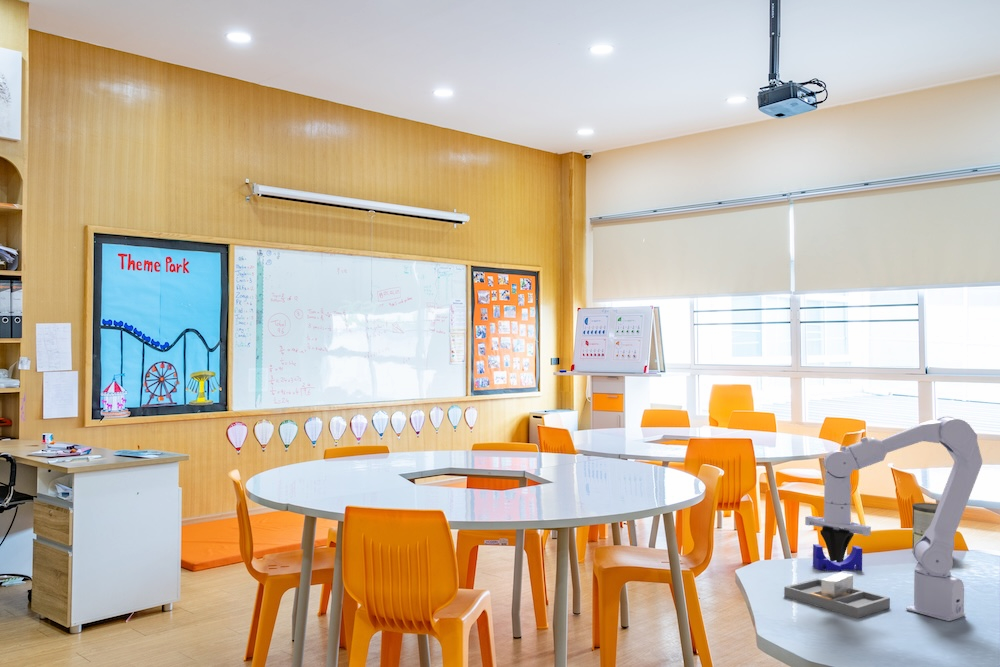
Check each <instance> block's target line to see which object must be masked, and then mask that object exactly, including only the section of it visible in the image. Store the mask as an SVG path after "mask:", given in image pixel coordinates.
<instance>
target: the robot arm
mask: <svg viewBox="0 0 1000 667" xmlns="http://www.w3.org/2000/svg"><path fill="white" fill-rule="evenodd" d="M921 442H925V443H926V442H927V443H933V444H941V446H943V447H945V449H946V450H947V452H948V453H949V455H950V457H951V458H952V460H953V461H954V462H953V466H952V467H951V471H950V473H949V475H948V479H947V481H946V483H945V485H944V489H943V492H942V493H941V496H940V499H939V502H938V507H937V509H936V512H935V514H934V517H933V520H932V522H931V525H930V526H929V528H928V529H927V530H926V531H925V532H924V535H923V537H922V538H921V539H920V540H919V541H918V542H917V543H916V544H915V545H914V548H913V547H912V550H913V552H912V553H913V557H914V558H915V559H916V561H917V563H916V565H915V566H914V567H913V568H914V569H913V570H914V573H913V574H914V582H913V583H914V584H913V585H914V586H913V589H914V591H913V592H914V593H913V596H914V597H913V605H909V606H907V607H905V609H906V610H907V611H910V612H913V613H917V614H920V615H925V616H928V617H932V618H935V619H938V620H943V621H947V622H950V621H954V620H957V619H959V618H962V617H964V616H966V612H965V586H964V582H963V580H962V579H960V578H957V577H954V576H953V575H952V572H951V570H952V568H953V565H954V558H953V552H954V551H955V550H954V549H955V535H956V533H957V530H958V528H959V525H960V523H961V520H962V517H963V514H964V511H965V509H966V507H967V504H968V502H969V499H970V497H971V493H972V491H973V489H974V486H975V483H976V480H977V478H978V475H979V473H980V471H981V468H982V466H983V458H982V455H981V454H982V453H981V451H980V446H979V443H978V434H977V433H976V432H975V430H974V429H973V428H972V426H971V425H970V423H968V422H967V421H965V420H963V419H960V418H954V417H952V416H948V415H947V416H941V417H938V418H937V419H931V420H927V421H924V422H921V423H918V424H915V425H914V426H911V427H908V428H905V429H904V430H901V431H898V432H896V433H894V434H892V435H889V436H887V437H885V438H882V439H878V438H877V437H876V438H875V437H872V436H871V437H866V436H864V437H861V438H860V441H858V442H855V443H852V444H849V445H848V446H846V445H841V446H840V449H841V450H838V449H837V450H831V451H829V452H827V454H826V455H825V456H824V459H823V461H822V464H823V467H824V468H825V470H826V471H825V474H824V478H825V481H824V493H823V494H824V496H823V497H824V498H823V500H824V503H823V517H821V516H820V517H819V516H814V515H813V516H812V515H807V516H805V520H804V521H805V523H804V525H806V526H815V527H819V528H821V530H819V532H820V535H821V537H822V539H823V541H824V543H825V546H826V549H827V551H828V555H829V560H830V561H833V562H838V563H840V562H843V560H844V558H845V554H846V552H847V548H848V547H849V544H850V542H851V540H852V539H853V537H854V535H855V534H856V535H857V534H858V535H862V536H863V537H864V536H865V537H868V536H871V535H872V534H871V530H872V529H871V528H872V527H871V526H869V525H865V524H860V523H857V522H853V521H851V515H852V513H851V512H852V509H851V508H852V484H851V475H852V473H853V471H854V470H856V471H858V470H861V469H864V468H867V467H869V466H872V465H874V464H875V465H876V464H878V463H879V462H883V461H885V458H886V455H887V454H888V453H890V452H894V451H897V450H900V449H904V448H906V447H909V446H912V445H915V444H918V443H921Z"/></svg>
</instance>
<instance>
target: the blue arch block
mask: <svg viewBox="0 0 1000 667" xmlns="http://www.w3.org/2000/svg"><path fill="white" fill-rule="evenodd" d="M823 550H824V549H823V546H821V545H820V544H819V543H818V544H816V543H815V544H814V543H813V544H812V567H813V568H815V569H816V570H818V571H832V572H833V571H834V572H835V571H836V572H842V570H843V571H844V570H845V571H863V548H862V547H860V546H859V545H852V547H851V551H850V554H849V555H848V556H847V557H846V558H845V559H843V562H840V563H838V562H836V561H830V559H828V558H827V557H826V555H825V553H824V551H823Z"/></svg>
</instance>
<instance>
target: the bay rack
mask: <svg viewBox="0 0 1000 667" xmlns="http://www.w3.org/2000/svg"><path fill="white" fill-rule="evenodd" d="M821 582H822V579H819V578H814V579H811V580H810V579H809V580H805V581H802V582H798V583H794V584H791V585H787V586H784V589H783V590H784V591H783V593H784V594H783V595H784V597H785V598H788V599H791V600H796V601H799V602H803V603H805V602H806V603H807V604H810V605H812V606H816V607H819V608H822V607H823V609H825V608H826V610H829V611H833V612H835V613H839V614H843V615H846V616H848V617H849V616H850V617H853V618H856V619H859V618H862V617H865V616H868V615H871V614H875V613H878V612H881V611H883V610H887V609H890V607H891V604H890V603H891V598H890V597H887V596H884V595H880V594H877V593H873V592H869V591H866V590H861V589H857V588H854V587H853V593H852V594H849V595H845V596H842V597H838V598H835V599H832V598H829V597H825V596H822V595H821ZM806 603H805V604H806Z"/></svg>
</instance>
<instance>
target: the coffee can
mask: <svg viewBox="0 0 1000 667" xmlns="http://www.w3.org/2000/svg"><path fill="white" fill-rule="evenodd" d="M938 504H939V503H938ZM938 504H937V503H932V502H931V503H930V502H917V503H913V504H912V550H911V552H912V553H913V548H914V545H915V544H916V543H917V542H918V541H919V540H920V539H921V538H922V537H923V535H924V532H925V531H926V530H927V529H928V528H929V526H930V525H931V522H932V520H933V517H934V514H935V512H936V509H937V507H938Z"/></svg>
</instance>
